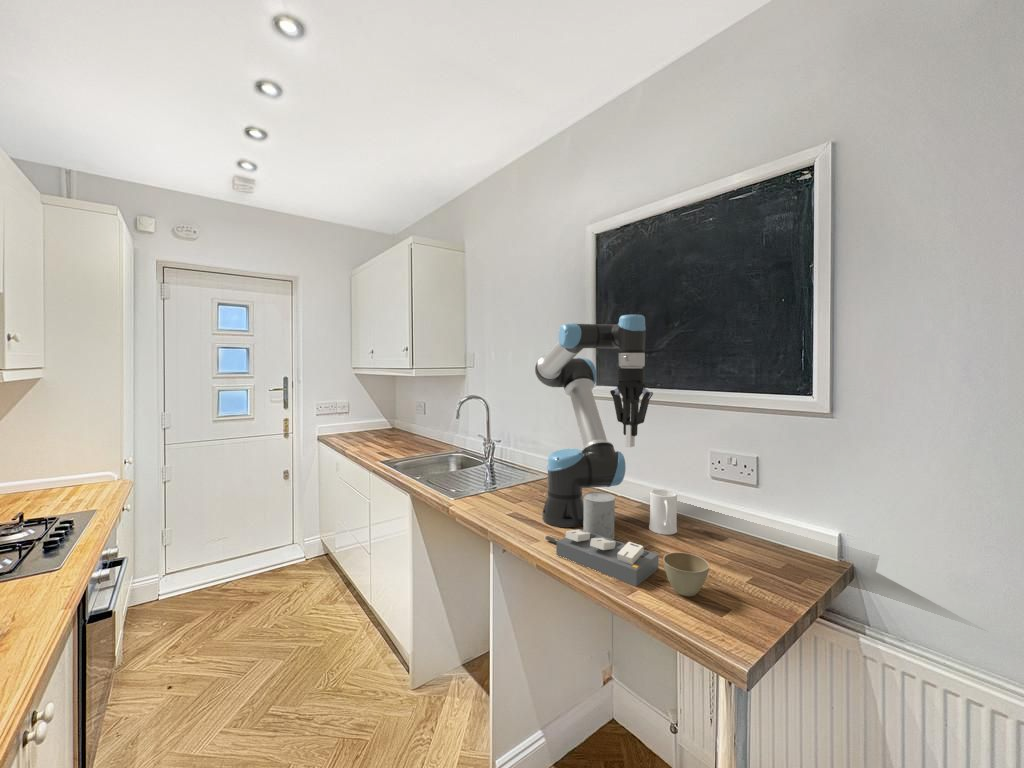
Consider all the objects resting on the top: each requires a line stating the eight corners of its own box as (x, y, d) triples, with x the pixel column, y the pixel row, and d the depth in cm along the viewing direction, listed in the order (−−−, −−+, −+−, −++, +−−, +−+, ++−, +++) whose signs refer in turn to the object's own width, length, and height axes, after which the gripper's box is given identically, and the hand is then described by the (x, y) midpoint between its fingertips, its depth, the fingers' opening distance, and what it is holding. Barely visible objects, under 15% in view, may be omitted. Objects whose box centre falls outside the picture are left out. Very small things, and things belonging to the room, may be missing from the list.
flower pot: (655, 581, 107) (656, 552, 107) (694, 579, 108) (695, 551, 108) (674, 603, 97) (674, 572, 97) (717, 601, 98) (717, 570, 98)
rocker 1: (565, 537, 120) (566, 530, 120) (577, 535, 125) (578, 529, 125) (577, 541, 118) (578, 534, 118) (589, 539, 122) (590, 532, 122)
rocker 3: (617, 559, 110) (617, 553, 109) (629, 547, 114) (628, 541, 113) (632, 564, 107) (631, 558, 107) (643, 552, 111) (643, 545, 111)
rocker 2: (589, 545, 115) (591, 538, 115) (601, 544, 119) (602, 537, 119) (603, 550, 112) (604, 542, 112) (614, 548, 116) (615, 541, 117)
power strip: (532, 546, 127) (532, 532, 127) (558, 534, 136) (558, 521, 135) (636, 586, 104) (636, 569, 104) (658, 569, 113) (658, 553, 113)
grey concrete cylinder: (616, 532, 138) (616, 493, 137) (612, 544, 129) (613, 503, 128) (585, 528, 141) (586, 490, 140) (580, 539, 132) (580, 499, 131)
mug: (679, 540, 131) (680, 501, 131) (650, 537, 134) (650, 498, 133) (675, 526, 143) (676, 489, 142) (648, 523, 145) (648, 487, 144)
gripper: (605, 367, 131) (604, 445, 132) (646, 368, 122) (644, 451, 123) (618, 367, 136) (617, 441, 138) (658, 367, 128) (656, 447, 129)
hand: (630, 446), depth 131 cm, fingers closed
